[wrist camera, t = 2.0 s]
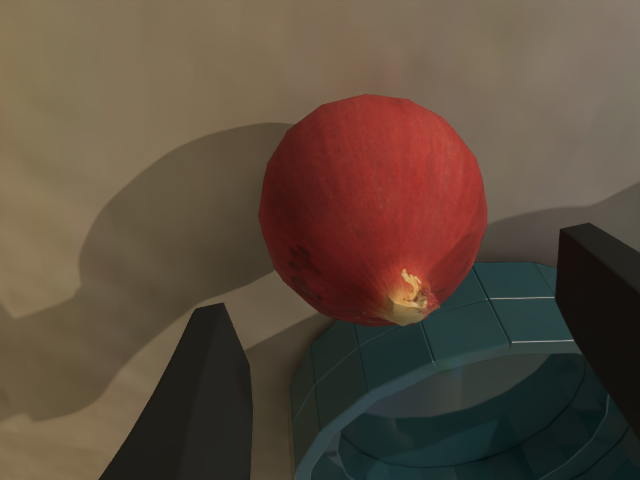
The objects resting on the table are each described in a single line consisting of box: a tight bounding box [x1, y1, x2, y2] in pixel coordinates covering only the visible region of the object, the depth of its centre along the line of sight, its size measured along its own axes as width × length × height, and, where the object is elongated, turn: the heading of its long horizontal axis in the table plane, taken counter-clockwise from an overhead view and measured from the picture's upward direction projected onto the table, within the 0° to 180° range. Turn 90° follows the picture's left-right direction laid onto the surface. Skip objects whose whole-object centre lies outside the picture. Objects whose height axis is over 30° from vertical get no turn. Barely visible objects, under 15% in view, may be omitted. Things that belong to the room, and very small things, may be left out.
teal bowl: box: [288, 262, 640, 480], centre depth 24 cm, size 15×15×4 cm
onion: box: [258, 94, 487, 327], centre depth 15 cm, size 6×6×8 cm
